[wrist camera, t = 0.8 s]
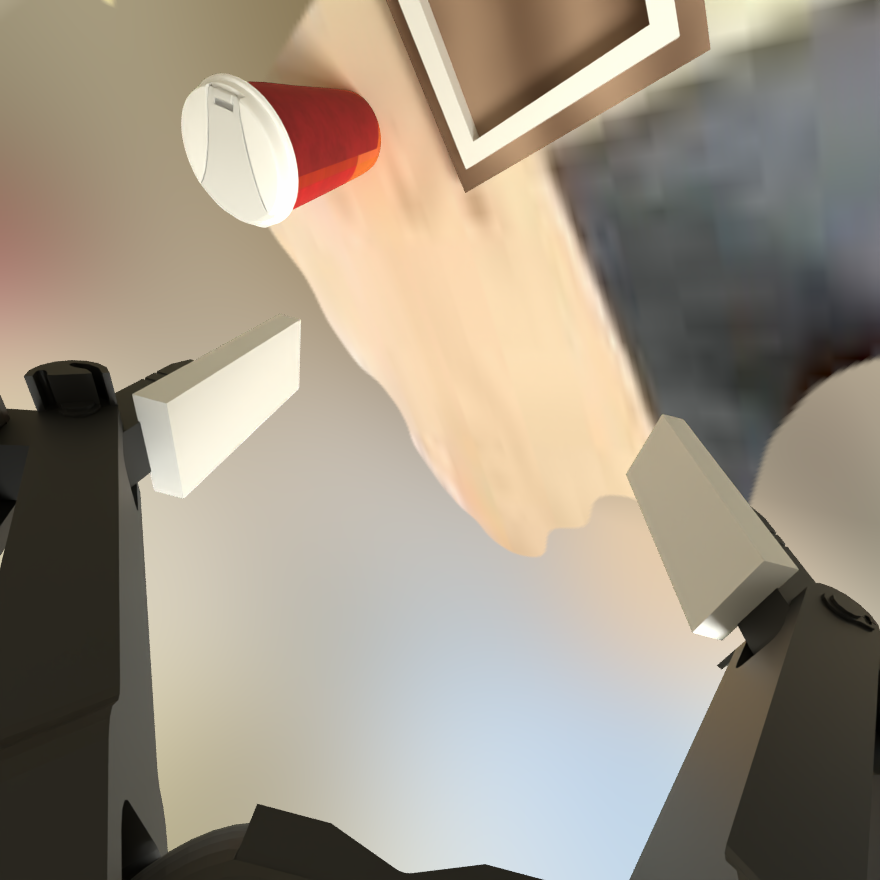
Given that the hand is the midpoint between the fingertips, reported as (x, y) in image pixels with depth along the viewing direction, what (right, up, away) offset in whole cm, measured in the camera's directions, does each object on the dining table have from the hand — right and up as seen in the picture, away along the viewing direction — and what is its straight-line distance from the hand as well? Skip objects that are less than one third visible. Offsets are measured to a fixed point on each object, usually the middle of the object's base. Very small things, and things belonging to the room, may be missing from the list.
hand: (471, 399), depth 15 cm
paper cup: (-8, +24, +19) cm, 32 cm away
